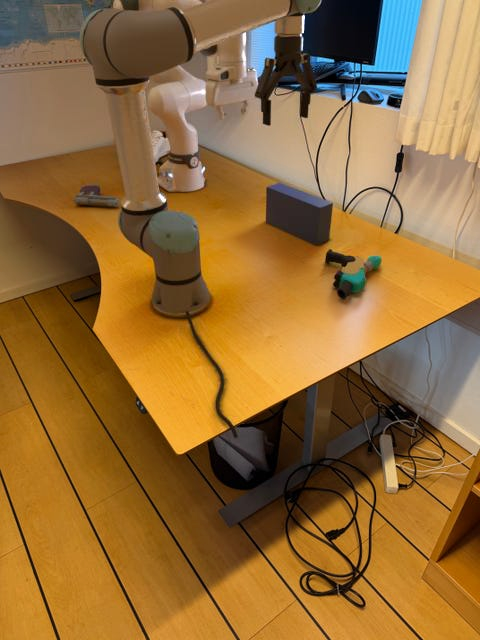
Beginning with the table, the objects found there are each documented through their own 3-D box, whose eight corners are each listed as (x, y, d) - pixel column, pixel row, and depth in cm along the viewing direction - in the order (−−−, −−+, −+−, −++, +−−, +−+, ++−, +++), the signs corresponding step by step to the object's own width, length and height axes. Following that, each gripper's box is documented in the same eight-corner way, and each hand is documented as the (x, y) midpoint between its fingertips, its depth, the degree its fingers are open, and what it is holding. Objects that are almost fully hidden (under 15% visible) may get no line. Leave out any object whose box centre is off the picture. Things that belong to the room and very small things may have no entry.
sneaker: (127, 168, 213) (123, 140, 206) (154, 149, 235) (151, 124, 228) (148, 170, 211) (144, 142, 204) (174, 151, 233) (171, 125, 226)
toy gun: (131, 195, 187) (116, 210, 175) (87, 192, 190) (69, 207, 178) (130, 185, 185) (114, 200, 173) (85, 182, 188) (67, 197, 176)
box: (329, 239, 154) (333, 202, 147) (316, 245, 151) (320, 207, 143) (277, 217, 169) (279, 182, 161) (265, 222, 166) (266, 186, 158)
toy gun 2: (303, 279, 125) (359, 293, 119) (335, 240, 143) (384, 251, 138) (302, 294, 128) (356, 308, 122) (333, 254, 146) (382, 265, 140)
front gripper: (315, 30, 132) (310, 111, 144) (241, 37, 121) (242, 125, 133) (334, 32, 127) (326, 116, 139) (258, 40, 116) (258, 130, 128)
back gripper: (250, 65, 159) (250, 110, 167) (201, 73, 148) (203, 120, 156) (263, 68, 155) (262, 113, 163) (213, 75, 144) (215, 123, 152)
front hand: (285, 120), depth 136 cm, fingers open, 13 cm apart
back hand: (233, 116), depth 160 cm, fingers open, 8 cm apart
